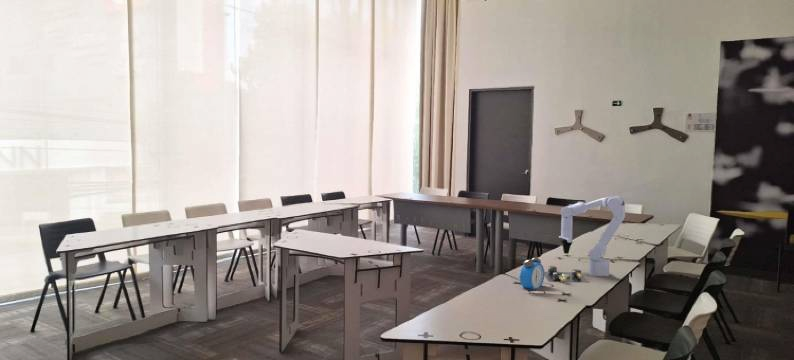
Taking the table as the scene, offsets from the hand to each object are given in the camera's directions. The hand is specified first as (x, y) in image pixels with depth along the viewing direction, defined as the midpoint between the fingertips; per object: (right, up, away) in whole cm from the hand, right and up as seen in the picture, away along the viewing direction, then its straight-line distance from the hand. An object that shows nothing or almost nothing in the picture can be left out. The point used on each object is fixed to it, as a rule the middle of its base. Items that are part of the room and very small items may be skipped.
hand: (566, 253), depth 286 cm
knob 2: (-10, -11, -22) cm, 27 cm away
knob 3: (0, -10, -17) cm, 20 cm away
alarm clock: (-27, -13, -32) cm, 44 cm away
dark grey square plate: (-5, -12, -14) cm, 19 cm away
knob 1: (-9, -9, -5) cm, 14 cm away
